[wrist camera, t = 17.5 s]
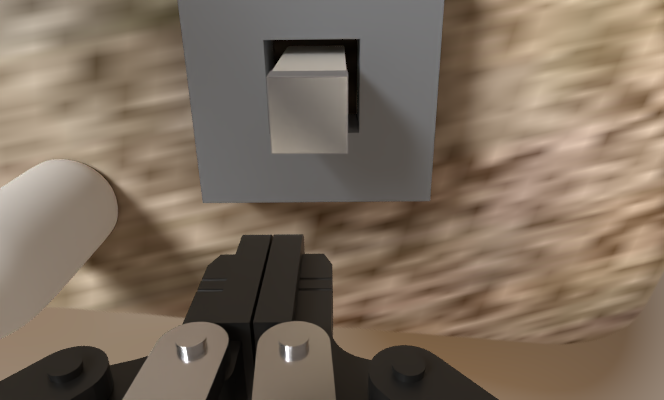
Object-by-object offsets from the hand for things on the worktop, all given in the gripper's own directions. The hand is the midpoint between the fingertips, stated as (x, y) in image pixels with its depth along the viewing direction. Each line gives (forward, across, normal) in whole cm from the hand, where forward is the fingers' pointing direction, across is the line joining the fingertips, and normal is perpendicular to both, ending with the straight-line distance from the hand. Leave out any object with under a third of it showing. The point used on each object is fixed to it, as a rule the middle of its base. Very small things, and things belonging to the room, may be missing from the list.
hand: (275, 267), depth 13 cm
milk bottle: (+27, +20, +10) cm, 35 cm away
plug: (+27, 0, 0) cm, 27 cm away
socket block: (+27, 0, 0) cm, 27 cm away
